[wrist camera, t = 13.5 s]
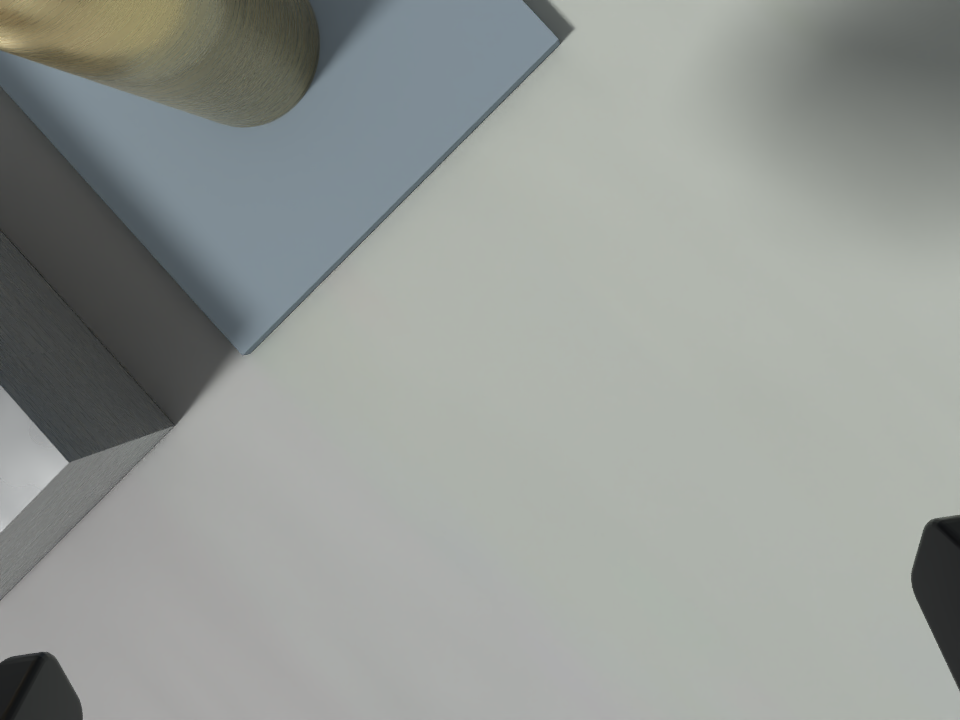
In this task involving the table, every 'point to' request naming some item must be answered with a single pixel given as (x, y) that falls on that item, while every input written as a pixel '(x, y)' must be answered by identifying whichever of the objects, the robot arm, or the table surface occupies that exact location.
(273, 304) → the rubber mat
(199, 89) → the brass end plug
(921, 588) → the robot arm
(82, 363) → the metal housing
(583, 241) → the table surface
